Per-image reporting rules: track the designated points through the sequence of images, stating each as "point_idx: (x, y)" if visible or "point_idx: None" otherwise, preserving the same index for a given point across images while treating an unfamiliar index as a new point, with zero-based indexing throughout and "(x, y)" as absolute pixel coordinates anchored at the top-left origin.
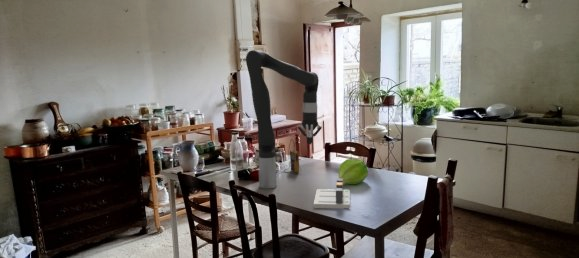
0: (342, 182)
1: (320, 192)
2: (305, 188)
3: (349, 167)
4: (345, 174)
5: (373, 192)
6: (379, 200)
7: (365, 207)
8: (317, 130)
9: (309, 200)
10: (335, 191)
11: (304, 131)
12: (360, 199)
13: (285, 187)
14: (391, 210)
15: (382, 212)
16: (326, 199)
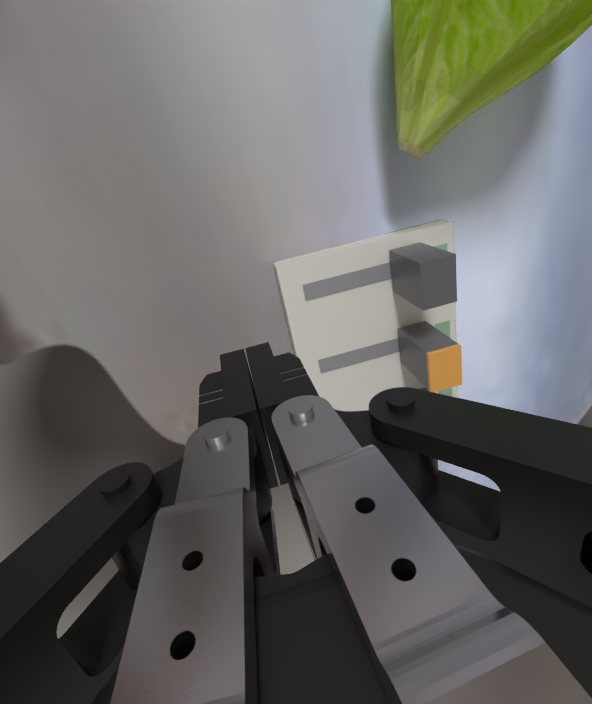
0: (460, 348)
1: (310, 315)
2: (174, 199)
3: (528, 37)
4: (465, 110)
5: (559, 167)
6: (566, 280)
7: (504, 374)
8: (564, 582)
9: None
10: (383, 277)
11: (81, 575)
12: (490, 293)
13: (32, 215)
14: (587, 370)
15: (555, 397)
16: (360, 394)
